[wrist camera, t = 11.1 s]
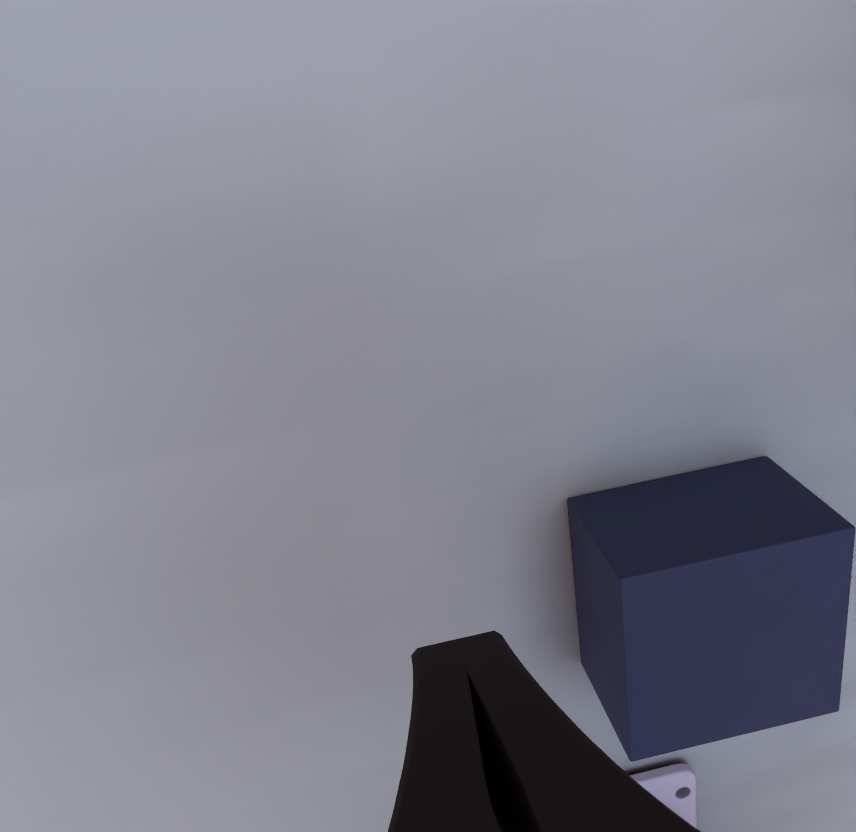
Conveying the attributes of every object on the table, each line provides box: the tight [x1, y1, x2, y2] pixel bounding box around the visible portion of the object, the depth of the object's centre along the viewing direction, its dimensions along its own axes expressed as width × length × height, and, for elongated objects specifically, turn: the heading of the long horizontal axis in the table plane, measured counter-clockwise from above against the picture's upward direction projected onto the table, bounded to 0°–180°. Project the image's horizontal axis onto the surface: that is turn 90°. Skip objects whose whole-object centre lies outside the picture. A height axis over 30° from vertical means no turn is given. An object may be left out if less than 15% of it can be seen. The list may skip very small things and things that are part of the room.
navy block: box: [568, 456, 855, 761], centre depth 22 cm, size 6×6×4 cm
